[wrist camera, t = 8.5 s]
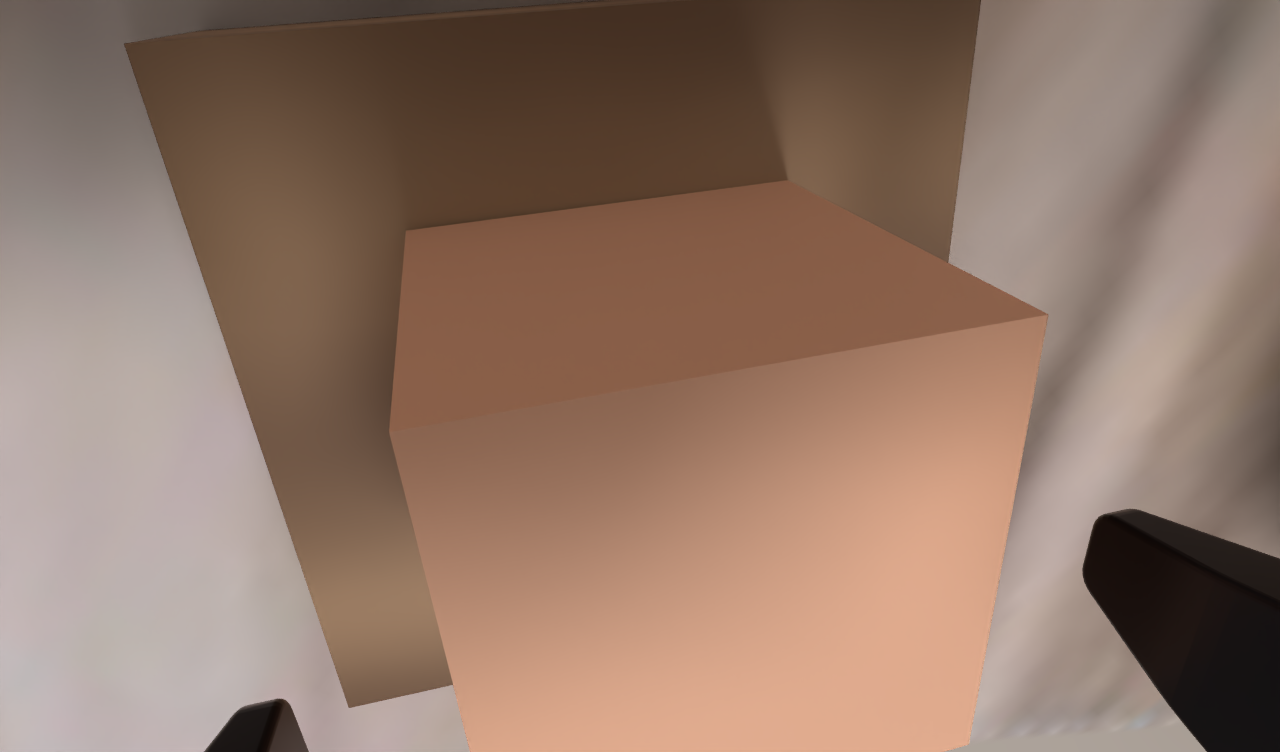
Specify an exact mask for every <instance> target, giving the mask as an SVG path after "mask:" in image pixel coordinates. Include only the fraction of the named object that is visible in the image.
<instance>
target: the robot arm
mask: <svg viewBox="0 0 1280 752" xmlns="http://www.w3.org/2000/svg"><path fill="white" fill-rule="evenodd" d="M1082 571H1083V578H1084V582H1085V584H1086V587H1087V589H1088V590H1089V592H1090V594H1091V595H1092V596H1093V598H1094V599H1095V601H1096V602H1097V604H1098V605H1099V606H1100V608H1101V609H1102V611H1103V612H1104V614H1105V615H1106V617H1107V618H1108V619H1109V621H1110V622H1111V624H1112V625H1113V627H1114V628H1115V629H1116V631H1117V632H1118V634H1119V635H1120V637H1121V638H1122V640H1123V641H1124V642H1125V644H1126V645H1127V647H1128V648H1129V650H1130V651H1131V652H1132V654H1133V655H1134V657H1135V658H1136V660H1137V661H1138V663H1139V664H1140V665H1141V667H1142V668H1143V670H1144V671H1145V673H1146V674H1147V675H1148V677H1149V678H1150V680H1151V681H1152V683H1153V684H1154V686H1155V687H1156V688H1157V690H1158V691H1159V692H1160V694H1161V695H1162V697H1163V698H1164V699H1165V701H1166V702H1167V703H1168V705H1169V706H1170V707H1171V709H1172V710H1173V711H1174V712H1175V714H1176V715H1177V716H1178V717H1179V719H1180V720H1181V721H1182V722H1183V724H1184V725H1185V726H1186V727H1187V729H1188V730H1189V731H1190V732H1191V733H1192V734H1193V736H1194V737H1195V738H1196V739H1197V740H1198V742H1199V743H1200V744H1201V745H1202V746H1203V748H1204V749H1205V750H1206V751H1207V752H1280V559H1279V558H1276V557H1273V556H1270V555H1267V554H1265V553H1262V552H1259V551H1256V550H1253V549H1250V548H1247V547H1244V546H1242V545H1239V544H1236V543H1233V542H1230V541H1227V540H1224V539H1221V538H1219V537H1216V536H1213V535H1210V534H1207V533H1204V532H1201V531H1198V530H1195V529H1193V528H1190V527H1187V526H1184V525H1181V524H1178V523H1175V522H1172V521H1170V520H1167V519H1164V518H1161V517H1158V516H1155V515H1152V514H1149V513H1147V512H1144V511H1141V510H1137V509H1125V510H1121V511H1116V512H1112V513H1107V514H1103V515H1101V516H1099V517H1098V519H1097V520H1096V521H1095V523H1094V525H1093V529H1092V532H1091V536H1090V540H1089V544H1088V548H1087V552H1086V556H1085V560H1084V564H1083V569H1082ZM204 752H309V751H308V749H307V746H306V743H305V741H304V738H303V736H302V733H301V731H300V728H299V726H298V723H297V720H296V718H295V715H294V713H293V710H292V708H291V706H290V704H289V703H288V702H287V701H286V700H284V699H274V700H270V701H265V702H261V703H256V704H252V705H247V706H244V707H242V708H240V709H239V710H238V711H237V712H236V713H235V714H234V715H233V716H232V717H231V718H230V720H229V721H228V722H227V723H226V725H225V726H224V727H223V728H222V730H221V731H220V732H219V734H218V735H217V736H216V737H215V739H214V740H213V741H212V742H211V744H210V745H209V746H208V748H207V749H206V750H205V751H204Z"/></svg>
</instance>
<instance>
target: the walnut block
mask: <svg viewBox="0 0 1280 752" xmlns="http://www.w3.org/2000/svg"><path fill="white" fill-rule="evenodd" d="M980 4H981V0H602V1H588V2H575V3H562V4H549V5H535V6H522V7H509V8H496V9H482V10H469V11H456V12H443V13H429V14H416V15H403V16H390V17H376V18H363V19H350V20H337V21H324V22H310V23H297V24H284V25H271V26H257V27H244V28H231V29H218V30H204V31H196V32H190V33H184V34H178V35H172V36H166V37H160V38H154V39H149V40H143V41H137V42H131V43H125V44H124V45H125V48H126V51H127V54H128V57H129V60H130V63H131V66H132V69H133V72H134V75H135V78H136V81H137V84H138V87H139V90H140V93H141V96H142V98H143V101H144V104H145V107H146V110H147V113H148V116H149V119H150V122H151V125H152V128H153V131H154V134H155V137H156V140H157V143H158V146H159V149H160V152H161V155H162V158H163V160H164V163H165V166H166V169H167V172H168V175H169V178H170V181H171V184H172V187H173V190H174V193H175V196H176V199H177V202H178V205H179V208H180V211H181V214H182V217H183V220H184V222H185V225H186V228H187V231H188V234H189V237H190V240H191V243H192V246H193V249H194V252H195V255H196V258H197V261H198V264H199V267H200V270H201V273H202V276H203V279H204V282H205V284H206V287H207V290H208V293H209V296H210V299H211V302H212V305H213V308H214V311H215V314H216V317H217V320H218V323H219V326H220V329H221V332H222V335H223V338H224V341H225V344H226V346H227V349H228V352H229V355H230V358H231V361H232V364H233V367H234V370H235V373H236V376H237V379H238V382H239V385H240V388H241V391H242V394H243V397H244V400H245V403H246V406H247V408H248V411H249V414H250V417H251V420H252V423H253V426H254V429H255V432H256V435H257V438H258V441H259V444H260V447H261V450H262V453H263V456H264V459H265V462H266V465H267V468H268V470H269V473H270V476H271V479H272V482H273V485H274V488H275V491H276V494H277V497H278V500H279V503H280V506H281V509H282V512H283V515H284V518H285V521H286V524H287V527H288V529H289V532H290V535H291V538H292V541H293V544H294V547H295V550H296V553H297V556H298V559H299V562H300V565H301V568H302V571H303V574H304V577H305V580H306V583H307V586H308V589H309V591H310V594H311V597H312V600H313V603H314V606H315V609H316V612H317V615H318V618H319V621H320V624H321V627H322V630H323V633H324V636H325V639H326V642H327V645H328V648H329V651H330V653H331V656H332V659H333V662H334V665H335V668H336V671H337V674H338V677H339V680H340V683H341V686H342V689H343V692H344V695H345V698H346V701H347V704H348V707H349V708H351V707H356V706H360V705H365V704H369V703H374V702H378V701H382V700H387V699H391V698H396V697H400V696H405V695H409V694H414V693H418V692H423V691H427V690H431V689H436V688H440V687H445V686H449V685H453V682H452V678H451V674H450V671H449V667H448V663H447V659H446V655H445V651H444V647H443V643H442V639H441V635H440V631H439V627H438V623H437V619H436V615H435V611H434V607H433V604H432V600H431V596H430V592H429V588H428V584H427V580H426V576H425V572H424V568H423V564H422V560H421V556H420V552H419V548H418V544H417V540H416V537H415V533H414V529H413V525H412V521H411V517H410V513H409V509H408V505H407V501H406V497H405V493H404V489H403V485H402V481H401V477H400V473H399V470H398V466H397V462H396V458H395V454H394V450H393V446H392V442H391V438H390V434H389V426H390V414H391V402H392V390H393V378H394V366H395V354H396V342H397V330H398V318H399V306H400V294H401V282H402V271H403V259H404V247H405V235H406V231H407V230H415V229H422V228H430V227H437V226H445V225H452V224H460V223H468V222H475V221H483V220H490V219H498V218H505V217H513V216H520V215H528V214H536V213H543V212H551V211H558V210H566V209H573V208H581V207H588V206H596V205H604V204H611V203H619V202H626V201H634V200H641V199H649V198H657V197H664V196H672V195H679V194H687V193H694V192H702V191H709V190H717V189H725V188H732V187H740V186H747V185H755V184H762V183H770V182H777V181H785V180H788V181H790V182H792V183H794V184H796V185H798V186H800V187H802V188H804V189H806V190H808V191H810V192H812V193H814V194H816V195H817V196H819V197H821V198H823V199H825V200H827V201H829V202H831V203H833V204H835V205H837V206H839V207H841V208H843V209H845V210H847V211H848V212H850V213H852V214H854V215H856V216H858V217H860V218H862V219H864V220H866V221H868V222H870V223H872V224H874V225H876V226H878V227H880V228H881V229H883V230H885V231H887V232H889V233H891V234H893V235H895V236H897V237H899V238H901V239H903V240H905V241H907V242H909V243H911V244H913V245H914V246H916V247H918V248H920V249H922V250H924V251H926V252H928V253H930V254H932V255H934V256H936V257H938V258H940V259H942V260H944V261H945V262H947V263H948V260H949V252H950V244H951V236H952V228H953V220H954V212H955V204H956V196H957V188H958V180H959V172H960V164H961V156H962V148H963V140H964V132H965V124H966V116H967V108H968V100H969V92H970V84H971V76H972V68H973V60H974V52H975V44H976V36H977V28H978V20H979V12H980Z"/></svg>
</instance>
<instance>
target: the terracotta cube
mask: <svg viewBox="0 0 1280 752" xmlns="http://www.w3.org/2000/svg"><path fill="white" fill-rule="evenodd" d="M1047 320H1048V314H1046V313H1044V312H1042V311H1041V310H1039V309H1037V308H1035V307H1033V306H1031V305H1029V304H1027V303H1025V302H1023V301H1021V300H1019V299H1017V298H1015V297H1013V296H1011V295H1009V294H1008V293H1006V292H1004V291H1002V290H1000V289H998V288H996V287H994V286H992V285H990V284H988V283H986V282H984V281H982V280H980V279H978V278H977V277H975V276H973V275H971V274H969V273H967V272H965V271H963V270H961V269H959V268H957V267H955V266H953V265H951V264H949V263H947V262H945V261H944V260H942V259H940V258H938V257H936V256H934V255H932V254H930V253H928V252H926V251H924V250H922V249H920V248H918V247H916V246H914V245H913V244H911V243H909V242H907V241H905V240H903V239H901V238H899V237H897V236H895V235H893V234H891V233H889V232H887V231H885V230H883V229H881V228H880V227H878V226H876V225H874V224H872V223H870V222H868V221H866V220H864V219H862V218H860V217H858V216H856V215H854V214H852V213H850V212H848V211H847V210H845V209H843V208H841V207H839V206H837V205H835V204H833V203H831V202H829V201H827V200H825V199H823V198H821V197H819V196H817V195H816V194H814V193H812V192H810V191H808V190H806V189H804V188H802V187H800V186H798V185H796V184H794V183H792V182H790V181H788V180H785V181H777V182H770V183H762V184H755V185H747V186H740V187H732V188H725V189H717V190H709V191H702V192H694V193H687V194H679V195H672V196H664V197H657V198H649V199H641V200H634V201H626V202H619V203H611V204H604V205H596V206H588V207H581V208H573V209H566V210H558V211H551V212H543V213H536V214H528V215H520V216H513V217H505V218H498V219H490V220H483V221H475V222H468V223H460V224H452V225H445V226H437V227H430V228H422V229H415V230H407V231H406V235H405V247H404V259H403V271H402V282H401V294H400V306H399V318H398V330H397V342H396V354H395V366H394V378H393V390H392V402H391V414H390V426H389V434H390V438H391V442H392V446H393V450H394V454H395V458H396V462H397V466H398V470H399V473H400V477H401V481H402V485H403V489H404V493H405V497H406V501H407V505H408V509H409V513H410V517H411V521H412V525H413V529H414V533H415V537H416V540H417V544H418V548H419V552H420V556H421V560H422V564H423V568H424V572H425V576H426V580H427V584H428V588H429V592H430V596H431V600H432V604H433V607H434V611H435V615H436V619H437V623H438V627H439V631H440V635H441V639H442V643H443V647H444V651H445V655H446V659H447V663H448V667H449V671H450V674H451V678H452V682H453V686H454V690H455V694H456V698H457V702H458V706H459V710H460V714H461V718H462V722H463V726H464V730H465V734H466V738H467V741H468V745H469V749H470V752H944V751H948V750H951V749H955V748H958V747H962V746H965V745H969V740H970V734H971V729H972V724H973V718H974V713H975V707H976V702H977V697H978V691H979V686H980V680H981V675H982V670H983V664H984V659H985V654H986V648H987V643H988V637H989V632H990V627H991V621H992V616H993V611H994V605H995V600H996V594H997V589H998V584H999V578H1000V573H1001V567H1002V562H1003V557H1004V551H1005V546H1006V541H1007V535H1008V530H1009V524H1010V519H1011V514H1012V508H1013V503H1014V497H1015V492H1016V487H1017V481H1018V476H1019V471H1020V465H1021V460H1022V454H1023V449H1024V444H1025V438H1026V433H1027V428H1028V422H1029V417H1030V411H1031V406H1032V401H1033V395H1034V390H1035V384H1036V379H1037V374H1038V368H1039V363H1040V358H1041V352H1042V347H1043V341H1044V336H1045V331H1046V325H1047Z"/></svg>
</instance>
